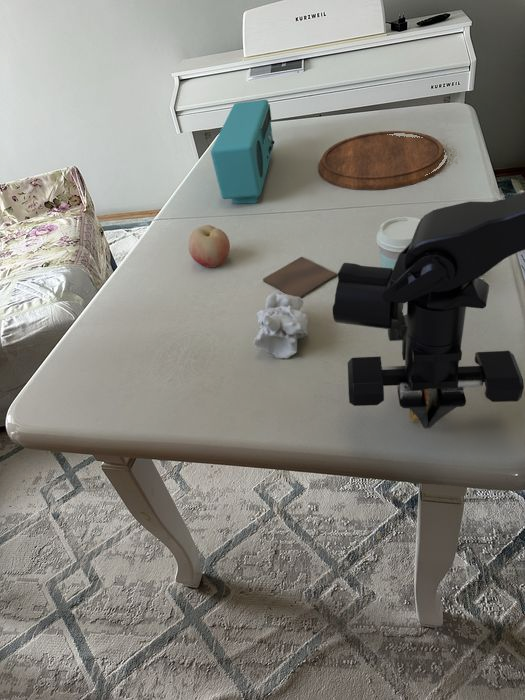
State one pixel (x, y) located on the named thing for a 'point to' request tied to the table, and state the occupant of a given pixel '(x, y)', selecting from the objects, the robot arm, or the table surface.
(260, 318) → the white lumpy chunk
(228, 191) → the radio
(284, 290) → the walnut coaster
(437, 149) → the cutting board
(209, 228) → the fruit
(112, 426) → the table surface
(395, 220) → the coffee cup
